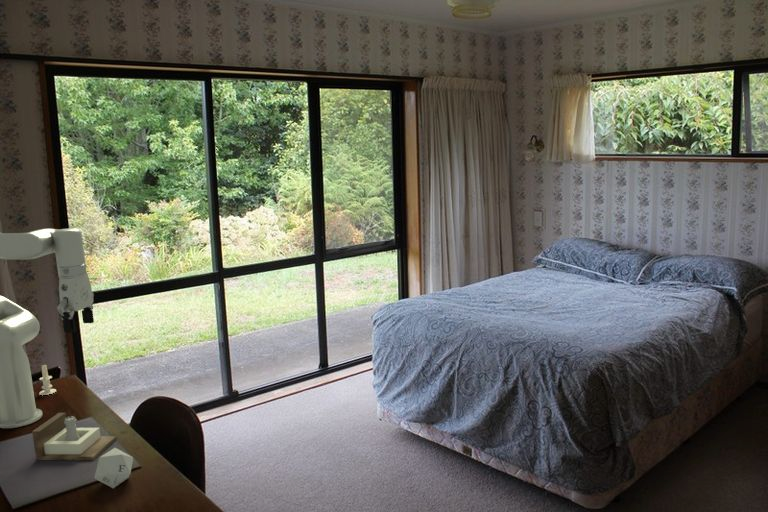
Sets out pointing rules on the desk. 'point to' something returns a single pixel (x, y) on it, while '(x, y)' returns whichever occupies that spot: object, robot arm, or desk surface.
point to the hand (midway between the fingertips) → (79, 327)
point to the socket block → (72, 442)
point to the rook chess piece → (71, 429)
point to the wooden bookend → (55, 427)
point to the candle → (46, 382)
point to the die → (114, 467)
